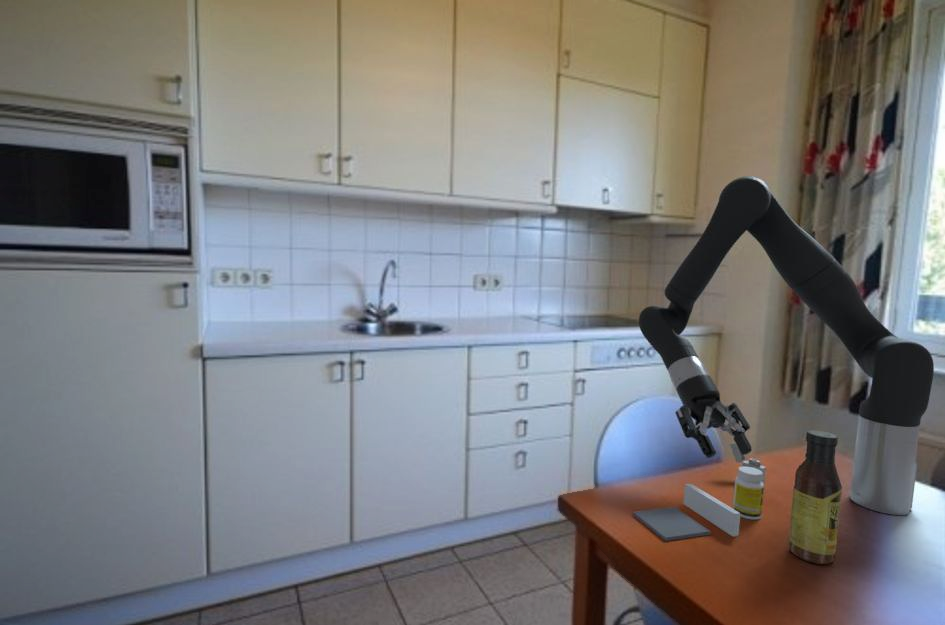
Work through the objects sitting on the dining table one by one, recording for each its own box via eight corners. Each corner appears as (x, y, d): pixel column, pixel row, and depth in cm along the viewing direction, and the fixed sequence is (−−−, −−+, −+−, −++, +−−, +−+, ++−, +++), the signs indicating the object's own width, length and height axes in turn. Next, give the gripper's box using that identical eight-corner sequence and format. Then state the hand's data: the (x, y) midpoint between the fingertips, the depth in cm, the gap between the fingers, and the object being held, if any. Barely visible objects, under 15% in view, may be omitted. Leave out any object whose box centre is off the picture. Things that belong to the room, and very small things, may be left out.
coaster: (674, 509, 94) (674, 506, 94) (709, 534, 86) (710, 531, 85) (632, 514, 91) (633, 511, 91) (665, 541, 83) (665, 537, 83)
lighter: (764, 486, 106) (767, 449, 105) (760, 488, 105) (764, 451, 104) (730, 474, 112) (734, 439, 111) (726, 476, 111) (729, 441, 110)
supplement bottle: (765, 522, 91) (769, 477, 90) (736, 518, 92) (740, 473, 91) (755, 509, 95) (759, 466, 95) (728, 506, 96) (732, 464, 96)
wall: (688, 503, 97) (690, 483, 96) (738, 535, 85) (740, 513, 85) (683, 504, 96) (685, 484, 96) (732, 536, 85) (734, 514, 85)
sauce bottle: (836, 571, 76) (850, 444, 74) (787, 558, 79) (799, 435, 77) (832, 552, 82) (845, 432, 80) (787, 539, 85) (798, 425, 83)
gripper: (674, 374, 102) (711, 448, 93) (730, 372, 107) (771, 443, 97) (655, 393, 108) (689, 465, 98) (709, 390, 112) (746, 460, 102)
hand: (730, 454), depth 97 cm, fingers open, 8 cm apart
